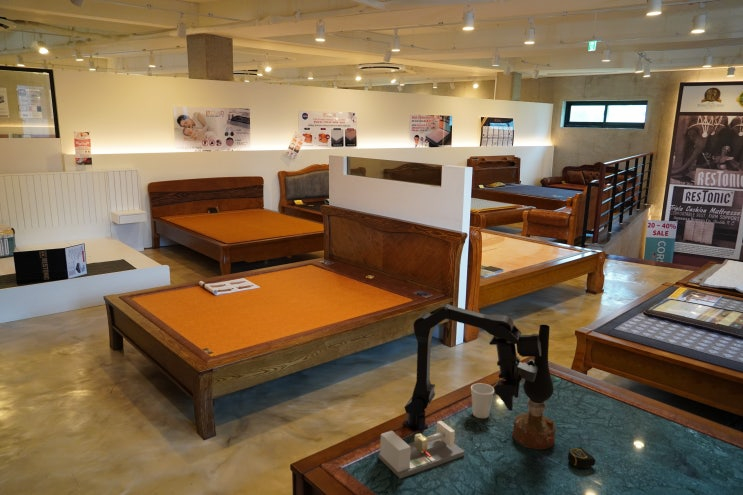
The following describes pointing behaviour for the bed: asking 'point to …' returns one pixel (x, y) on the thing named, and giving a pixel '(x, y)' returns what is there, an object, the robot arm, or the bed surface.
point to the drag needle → (421, 443)
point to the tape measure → (580, 458)
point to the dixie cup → (481, 399)
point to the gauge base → (414, 454)
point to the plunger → (443, 434)
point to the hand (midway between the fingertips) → (513, 403)
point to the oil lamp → (537, 403)
